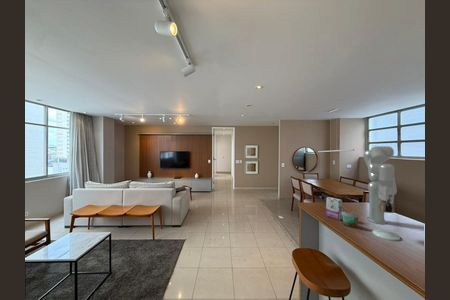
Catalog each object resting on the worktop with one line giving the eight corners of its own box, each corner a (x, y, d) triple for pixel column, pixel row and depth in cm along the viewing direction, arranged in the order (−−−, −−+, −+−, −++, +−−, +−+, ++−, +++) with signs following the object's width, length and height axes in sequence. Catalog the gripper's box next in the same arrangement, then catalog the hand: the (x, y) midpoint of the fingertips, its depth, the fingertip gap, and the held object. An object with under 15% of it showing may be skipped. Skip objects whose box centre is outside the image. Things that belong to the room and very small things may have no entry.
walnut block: (378, 209, 131) (378, 200, 131) (389, 210, 129) (389, 201, 129) (383, 212, 125) (383, 203, 125) (394, 213, 123) (394, 204, 123)
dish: (369, 229, 136) (369, 228, 136) (392, 232, 132) (392, 230, 132) (378, 238, 123) (378, 236, 123) (405, 242, 119) (405, 240, 119)
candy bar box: (342, 219, 156) (342, 199, 156) (338, 220, 153) (339, 200, 153) (329, 215, 165) (329, 196, 165) (325, 216, 163) (325, 197, 163)
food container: (337, 223, 148) (337, 210, 148) (342, 222, 150) (343, 209, 150) (353, 229, 136) (353, 215, 136) (359, 228, 139) (359, 214, 139)
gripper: (373, 181, 136) (373, 205, 136) (386, 185, 120) (386, 214, 120) (386, 181, 134) (386, 206, 134) (401, 186, 117) (400, 215, 118)
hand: (386, 209), depth 127 cm, fingers closed on walnut block, 6 cm apart
